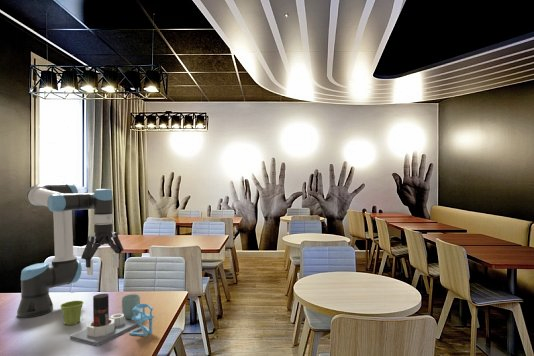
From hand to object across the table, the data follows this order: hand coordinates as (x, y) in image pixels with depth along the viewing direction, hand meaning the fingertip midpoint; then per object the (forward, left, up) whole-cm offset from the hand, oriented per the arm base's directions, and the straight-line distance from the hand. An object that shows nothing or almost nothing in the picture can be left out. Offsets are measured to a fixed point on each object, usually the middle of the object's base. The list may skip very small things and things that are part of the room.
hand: (103, 270), depth 159 cm
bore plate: (+5, -4, -25) cm, 26 cm away
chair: (+21, +1, -25) cm, 33 cm away
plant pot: (-18, -3, -25) cm, 31 cm away
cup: (+3, +12, -25) cm, 28 cm away
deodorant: (+5, -6, -24) cm, 25 cm away
